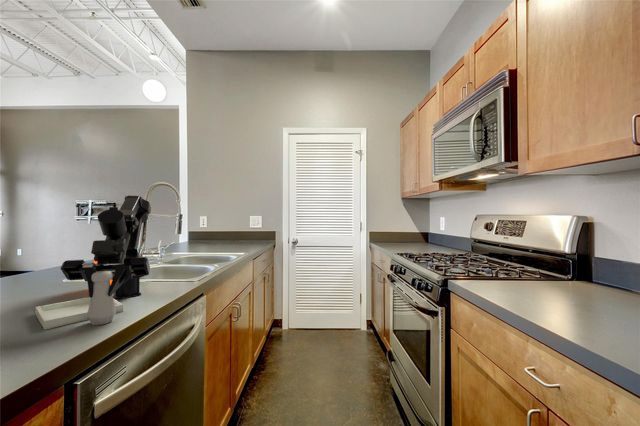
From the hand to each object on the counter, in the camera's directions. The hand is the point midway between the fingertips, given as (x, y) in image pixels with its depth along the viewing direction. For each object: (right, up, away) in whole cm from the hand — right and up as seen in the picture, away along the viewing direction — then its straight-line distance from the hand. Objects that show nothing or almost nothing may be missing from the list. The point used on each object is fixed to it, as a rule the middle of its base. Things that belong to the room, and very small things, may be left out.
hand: (100, 296), depth 69 cm
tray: (-12, -7, +8) cm, 16 cm away
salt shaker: (-1, -7, +1) cm, 7 cm away
